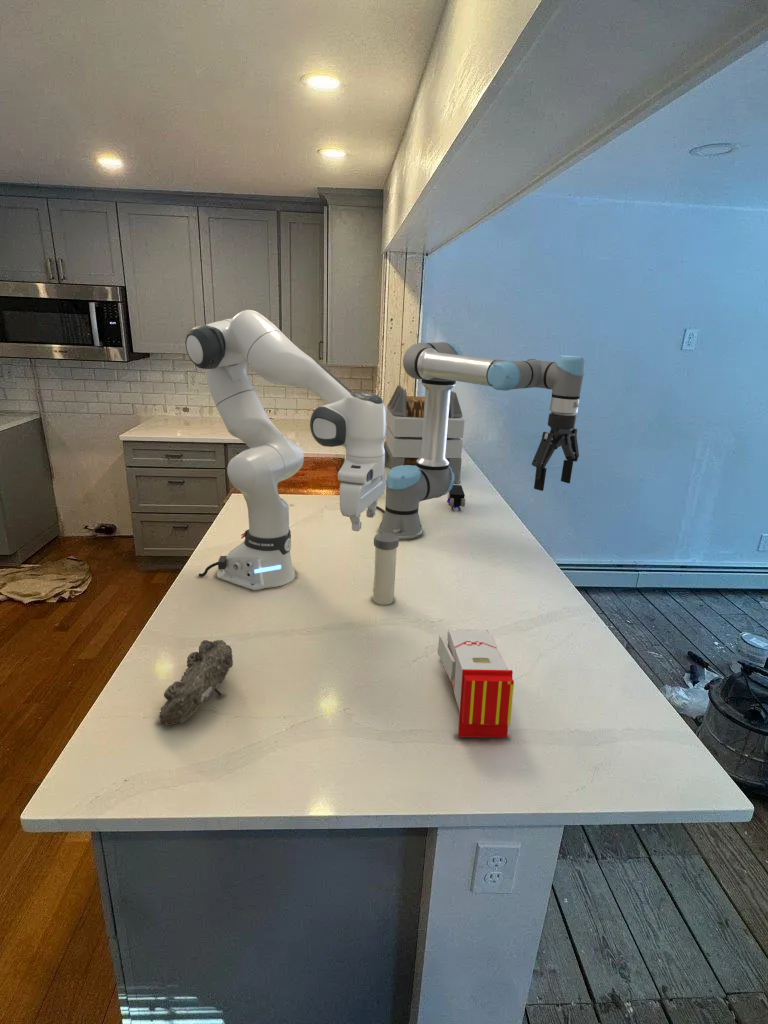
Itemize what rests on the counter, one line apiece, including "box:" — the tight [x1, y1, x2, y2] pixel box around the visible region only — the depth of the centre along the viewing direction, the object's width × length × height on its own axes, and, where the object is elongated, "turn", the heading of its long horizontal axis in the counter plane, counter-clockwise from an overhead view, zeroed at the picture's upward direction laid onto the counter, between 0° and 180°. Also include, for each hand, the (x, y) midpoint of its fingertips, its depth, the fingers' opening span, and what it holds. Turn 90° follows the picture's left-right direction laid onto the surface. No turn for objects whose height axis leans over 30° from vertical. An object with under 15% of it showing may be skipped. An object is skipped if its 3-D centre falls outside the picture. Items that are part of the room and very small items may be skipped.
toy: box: [437, 628, 515, 738], centre depth 117 cm, size 12×13×30 cm
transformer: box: [384, 384, 465, 484], centre depth 268 cm, size 34×33×41 cm
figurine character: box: [446, 484, 466, 511], centre depth 229 cm, size 7×8×15 cm
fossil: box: [158, 639, 234, 726], centre depth 113 cm, size 22×10×15 cm
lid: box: [373, 532, 400, 550], centre depth 149 cm, size 6×6×2 cm
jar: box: [372, 546, 398, 606], centre depth 151 cm, size 6×6×18 cm
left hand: (363, 523), depth 132 cm, fingers open, 8 cm apart
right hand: (552, 485), depth 166 cm, fingers open, 13 cm apart
